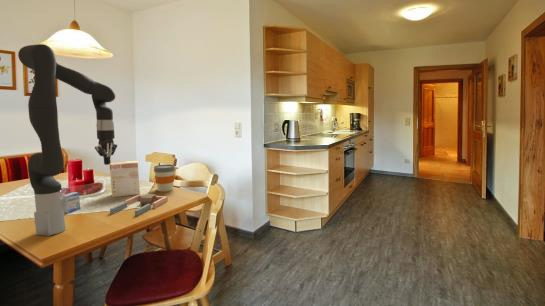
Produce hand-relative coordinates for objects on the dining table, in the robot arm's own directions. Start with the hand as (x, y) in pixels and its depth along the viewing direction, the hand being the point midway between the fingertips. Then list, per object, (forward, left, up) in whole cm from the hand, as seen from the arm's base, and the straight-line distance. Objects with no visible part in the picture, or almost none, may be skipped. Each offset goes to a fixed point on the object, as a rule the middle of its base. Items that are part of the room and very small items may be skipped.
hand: (107, 164), depth 154 cm
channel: (+1, -11, -24) cm, 26 cm away
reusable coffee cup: (+43, -6, -24) cm, 49 cm away
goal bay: (+14, -11, -24) cm, 29 cm away
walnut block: (+16, -11, -24) cm, 31 cm away
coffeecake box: (+28, +11, -24) cm, 38 cm away
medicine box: (-4, +19, -24) cm, 31 cm away
